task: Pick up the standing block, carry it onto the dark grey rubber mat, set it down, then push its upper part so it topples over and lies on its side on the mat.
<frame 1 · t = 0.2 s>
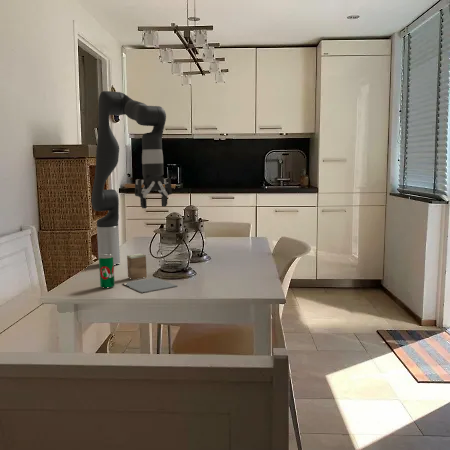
hand: (154, 207, 175), 28 cm above the table, tool pointing down, fingers open, 8 cm apart
mat: (149, 285, 174), on the table
soda can: (107, 287, 173), on the table
block: (137, 278, 186), on the table
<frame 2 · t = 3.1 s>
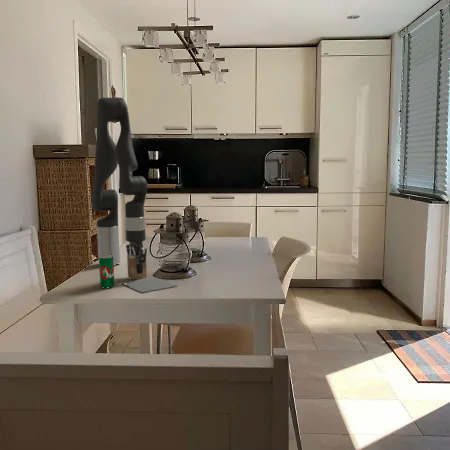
hand: (137, 272, 186), 2 cm above the table, tool pointing down, fingers closed on block, 4 cm apart
block: (137, 277, 186), on the table, touching gripper
everything else where it was.
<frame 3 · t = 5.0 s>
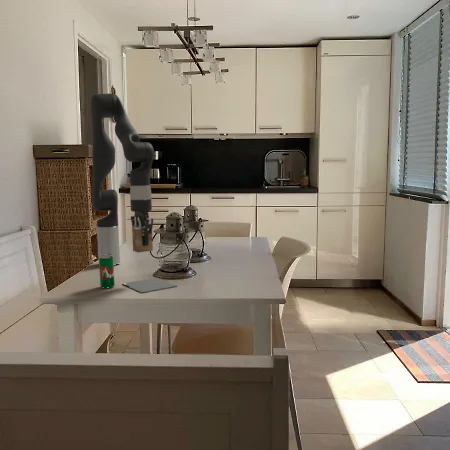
hand: (142, 244, 175), 15 cm above the table, tool pointing down, fingers closed on block, 4 cm apart
block: (142, 250, 176), point 12 cm above the table, touching gripper
everything else where it was.
when the fingers open (4 cm above the table, at t = 7.2 s): block stays where it is, resting on mat.
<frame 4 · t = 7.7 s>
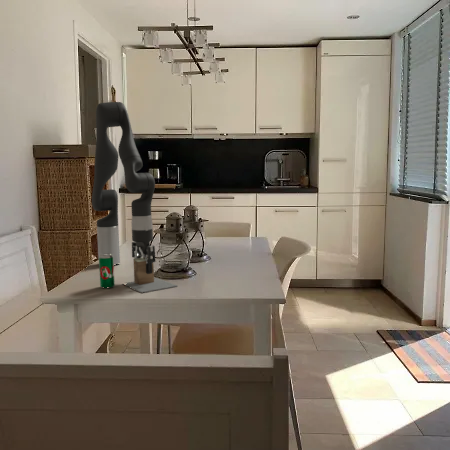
hand: (143, 271, 177), 4 cm above the table, tool pointing down, fingers open, 8 cm apart
block: (144, 282, 177), resting on mat
everything else where it was.
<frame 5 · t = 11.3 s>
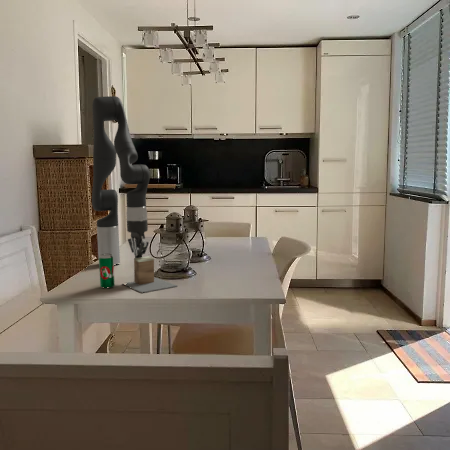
hand: (138, 264, 179), 6 cm above the table, tool pointing down, fingers closed
block: (144, 282, 177), point 1 cm above the table, touching gripper, mat
everything else where it was.
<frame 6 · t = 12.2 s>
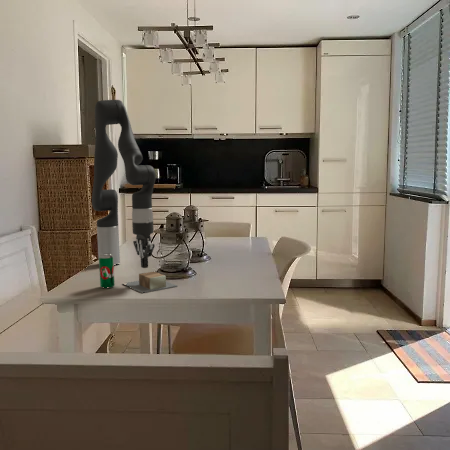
hand: (144, 267, 176), 6 cm above the table, tool pointing down, fingers closed
block: (146, 278, 175), point 2 cm above the table, tilted 90°, touching mat
everything else where it was.
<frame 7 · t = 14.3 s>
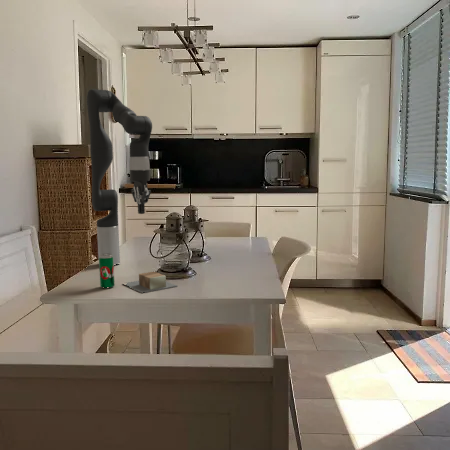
hand: (141, 213, 186), 25 cm above the table, tool pointing down, fingers closed
nothing on the table moved.
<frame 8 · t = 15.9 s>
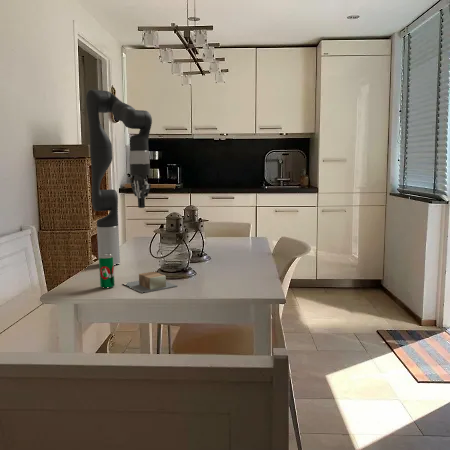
hand: (141, 207, 187), 27 cm above the table, tool pointing down, fingers closed
nothing on the table moved.
at the end: block tilted 90°; block inside the target area (4.1 cm from its centre), point 2.4 cm above the table; the gripper is holding nothing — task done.
